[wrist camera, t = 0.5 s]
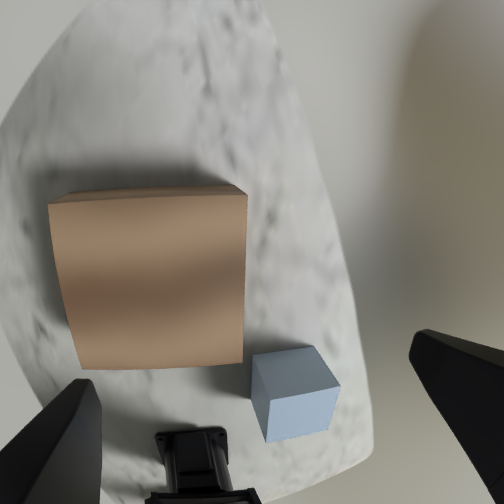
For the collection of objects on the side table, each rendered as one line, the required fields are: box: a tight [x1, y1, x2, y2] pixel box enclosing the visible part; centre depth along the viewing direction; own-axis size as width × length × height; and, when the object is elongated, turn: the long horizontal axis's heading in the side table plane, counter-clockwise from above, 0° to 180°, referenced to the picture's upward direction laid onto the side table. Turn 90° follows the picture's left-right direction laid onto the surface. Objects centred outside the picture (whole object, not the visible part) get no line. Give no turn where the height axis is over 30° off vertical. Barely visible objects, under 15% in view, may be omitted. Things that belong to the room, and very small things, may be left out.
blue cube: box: [251, 346, 340, 443], centre depth 22 cm, size 5×5×5 cm
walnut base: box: [48, 185, 248, 370], centre depth 17 cm, size 10×10×4 cm
